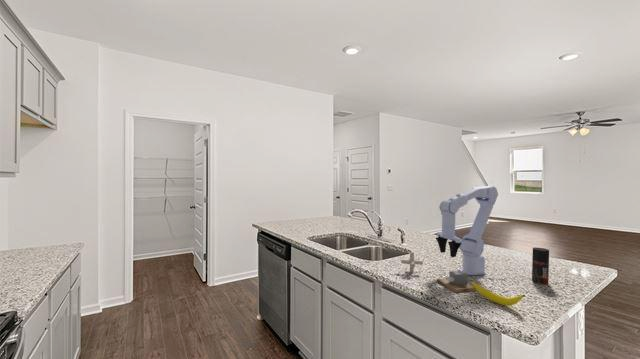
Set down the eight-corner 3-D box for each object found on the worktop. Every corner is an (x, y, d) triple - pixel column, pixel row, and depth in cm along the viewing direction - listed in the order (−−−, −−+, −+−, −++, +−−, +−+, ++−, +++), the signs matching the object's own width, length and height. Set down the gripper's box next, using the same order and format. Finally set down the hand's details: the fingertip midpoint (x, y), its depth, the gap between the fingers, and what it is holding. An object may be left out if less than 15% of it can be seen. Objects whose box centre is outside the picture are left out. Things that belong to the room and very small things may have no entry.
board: (460, 279, 131) (460, 277, 131) (480, 290, 119) (480, 287, 119) (437, 281, 128) (437, 279, 128) (454, 292, 116) (455, 289, 116)
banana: (472, 292, 116) (473, 277, 116) (526, 312, 100) (526, 294, 100) (468, 294, 115) (469, 278, 115) (522, 314, 99) (522, 296, 99)
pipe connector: (424, 276, 134) (424, 255, 134) (401, 275, 136) (402, 254, 136) (420, 270, 144) (421, 250, 143) (400, 268, 146) (400, 249, 145)
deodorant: (541, 285, 125) (542, 251, 125) (528, 280, 131) (529, 247, 131) (551, 284, 127) (552, 250, 127) (538, 279, 133) (539, 247, 132)
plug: (463, 280, 126) (463, 270, 126) (469, 284, 122) (469, 273, 122) (444, 282, 124) (444, 271, 124) (450, 285, 120) (450, 275, 120)
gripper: (431, 223, 141) (431, 250, 141) (451, 228, 126) (450, 259, 127) (444, 223, 142) (443, 250, 142) (465, 228, 128) (464, 258, 128)
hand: (447, 254), depth 135 cm, fingers open, 7 cm apart
